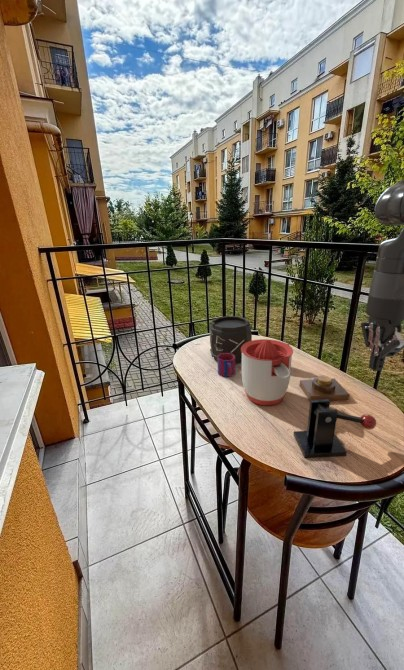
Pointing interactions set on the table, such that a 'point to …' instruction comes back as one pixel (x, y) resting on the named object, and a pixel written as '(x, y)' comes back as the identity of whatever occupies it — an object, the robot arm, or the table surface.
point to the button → (324, 380)
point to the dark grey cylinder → (229, 336)
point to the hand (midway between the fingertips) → (375, 369)
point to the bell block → (323, 390)
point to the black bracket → (320, 433)
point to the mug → (226, 364)
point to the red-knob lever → (353, 418)
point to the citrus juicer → (266, 370)
